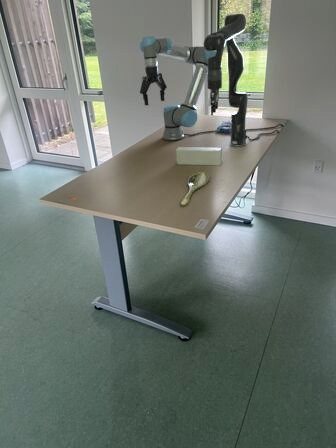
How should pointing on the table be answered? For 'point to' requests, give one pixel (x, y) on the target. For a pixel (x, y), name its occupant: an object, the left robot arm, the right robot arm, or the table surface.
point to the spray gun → (225, 127)
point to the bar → (199, 155)
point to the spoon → (195, 184)
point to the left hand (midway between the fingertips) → (154, 103)
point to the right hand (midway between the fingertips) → (214, 110)
